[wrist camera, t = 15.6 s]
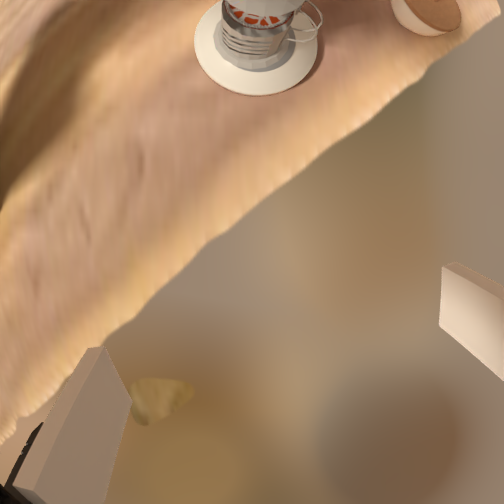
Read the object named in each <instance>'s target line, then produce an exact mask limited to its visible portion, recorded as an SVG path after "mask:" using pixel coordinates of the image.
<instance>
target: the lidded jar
mask: <svg viewBox="0 0 504 504" xmlns="http://www.w3.org/2000/svg"><path fill="white" fill-rule="evenodd" d="M391 7H392V10H393V13H394V15H395V17H396V19H397V20H398V22H399V23H400V24H401V25H402V26H403V27H405V28H406V29H408V30H410V31H412V32H414V33H416V34H419V35H423V36H437V35H441V34H444V33H446V32H450V31H453V30H455V29H456V28H458V27H459V25H460V22H461V13H460V9H459V6H458V4H457V2H456V0H391Z"/></svg>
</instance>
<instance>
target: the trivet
mask: <svg viewBox="0 0 504 504" xmlns="http://www.w3.org/2000/svg"><path fill="white" fill-rule="evenodd" d="M222 2H223V0H221V1H219V2H217V3H216V4H215V5H213V6H212V7H211V8H210V9H209V10H208V11H207V12H206V13H205V14H204V15H203V16H202V18H201V20H200V21H199V23H198V25H197V28H196V32H195V37H194V45H195V52H196V55H197V59H198V61H199V64H200V66H201V67H202V69H203V70H204V72H205V73H206V74H207V75H208V77H209V78H210V79H211V80H213V81H214V82H215V83H216V84H218V85H219V86H221V87H223V88H225V89H227V90H229V91H231V92H234V93H237V94H241V95H245V96H259V97H261V96H270V95H275V94H278V93H281V92H284V91H286V90H288V89H290V88H292V87H293V86H295V85H296V84H297V83H299V82H300V81H301V80H302V79H303V78H304V77H305V76H306V75H307V73H308V72H309V71H310V69H311V68H312V66H313V64H314V62H315V59H316V55H317V48H318V44H317V37H315V39H313V40H311V41H308V42H295V41H289V45H288V50H287V52H286V53H285V54H284V55H283V57H282V58H281V59H280V60H279V61H278V62H276V63H274V64H272V65H270V66H268V67H266V68H258V69H247V68H242V67H237V66H235V65H233V64H231V63H230V62H228V61H226V60H224V59H223V58H222V56H221V55H220V54H219V52H218V51H217V50H216V48H215V44H214V39H213V34H214V31H215V28H216V24H217V23H218V22H219V21H220V20H221V12H222ZM296 10H297V9H296ZM296 10H295V12H296ZM300 11H301V10H300ZM289 28H296V29H300V30H310V29H314V28H313V26H312V24H311V22H310V20H309V19H308V18H307V17H306V16H305V15H303V14H302V13H298V14H297V15H295V13H294V18H293V20H292V22H291V24H290V26H289ZM288 34H289V38H290V39H295V40H307V39H310V38H311V37H312V36H313V35H314V34H315V30H314V31H310V32H302V31H297V30H289V32H288Z"/></svg>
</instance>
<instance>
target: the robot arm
mask: <svg viewBox="0 0 504 504" xmlns="http://www.w3.org/2000/svg"><path fill="white" fill-rule="evenodd" d="M439 326H440V327H441V328H442V329H444V330H445V331H446V332H447V333H449V334H450V335H451V336H452V337H453V338H455V339H456V340H457V341H458V342H459V343H460V344H462V345H463V346H464V347H465V348H466V349H467V350H469V351H470V352H471V353H472V354H473V355H474V356H475V357H477V358H478V359H479V360H480V361H481V362H482V363H484V364H485V365H486V366H487V367H488V368H489V369H490V370H491V371H493V372H494V373H495V374H496V375H497V376H498V377H499V378H500V379H501V380H503V381H504V286H502V285H500V284H498V283H496V282H495V281H493V280H491V279H489V278H487V277H485V276H483V275H481V274H479V273H477V272H475V271H473V270H471V269H469V268H467V267H465V266H463V265H461V264H459V263H457V262H453V263H450V264H447V265H444V266H442V287H441V305H440V318H439ZM131 404H132V400H131V398H130V396H129V394H128V392H127V390H126V389H125V387H124V385H123V383H122V381H121V379H120V377H119V375H118V373H117V371H116V369H115V367H114V365H113V363H112V361H111V359H110V357H109V354H108V352H107V350H106V348H105V346H100V347H93V348H88V349H87V351H86V352H85V354H84V355H83V357H82V358H81V360H80V362H79V363H78V365H77V367H76V368H75V370H74V371H73V373H72V375H71V376H70V378H69V380H68V381H67V383H66V385H65V386H64V388H63V390H62V391H61V393H60V395H59V397H58V398H57V400H56V402H55V404H54V405H53V407H52V409H51V411H50V413H49V414H48V416H47V418H46V420H45V422H42V423H41V424H40V425H39V426H38V427H37V428H36V429H35V430H34V431H33V432H32V433H31V435H30V437H29V439H28V441H27V442H26V446H24V448H23V450H22V452H21V453H22V455H20V456H19V458H18V460H17V461H16V463H15V465H14V467H13V469H12V471H11V474H10V475H9V478H8V480H7V482H6V484H5V486H4V487H3V486H2V485H1V484H0V504H104V502H105V497H106V493H107V489H108V485H109V481H110V477H111V473H112V470H113V466H114V462H115V458H116V455H117V451H118V448H119V444H120V441H121V437H122V434H123V430H124V427H125V424H126V420H127V417H128V414H129V411H130V407H131Z"/></svg>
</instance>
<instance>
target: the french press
mask: <svg viewBox="0 0 504 504" xmlns="http://www.w3.org/2000/svg"><path fill="white" fill-rule="evenodd" d="M305 1H306V2H308V3H309V4H311V5H312V6H313V7H314V8H315V9H316V10H317V12H318V13H319V15H320V18H321V22H320V24H319V25H318V27H317V26H316V24H315V22H314V21H313V20H312V18H311V17H310V16H308V15H307V14H305V13H304V12H303V11H300V9H301V7H302V5H303V3H304V2H305ZM296 9H297V10H296ZM295 10H296V12H295ZM294 13H295V15H297V14H298V13H302V14H303V15H305V16H306V17H307V18H308V19H309V20H310V21H311V22H312V24H313V25H314V27H315V28H314V29H310V30H300V29H296V28H289V26H290V24H291V22H292V20H293V18H294ZM322 24H323V16H322V13H321V12H320V10H319V9H318V8H317V6H315V5H314V4H313V3H312V2H311V1H309V0H223V2H222V12H221V20H220V21H219V22H218V23H217V24H216V28H215V31H214V34H213V39H214V44H215V48H216V50H217V51H218V52H219V54H220V55H221V56H222V58H223V59H224V60H226V61H228V62H230V63H231V64H233V65H235V66H237V67H242V68H247V69H258V68H266V67H268V66H270V65H272V64H274V63H276V62H278V61H279V60H280V59H281V58H282V57H283V55H284V54H285V53H286V52H287V50H288V45H289V41H295V42H308V41H311V40H313V39H315V37H316V36H317V35H318V29H319V27H320V26H321V25H322ZM289 30H297V31H302V32H310V31H314V30H315V34H314V35H313V36H312V37H311V38H310V39H307V40H295V39H290V38H289V34H288V32H289Z"/></svg>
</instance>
